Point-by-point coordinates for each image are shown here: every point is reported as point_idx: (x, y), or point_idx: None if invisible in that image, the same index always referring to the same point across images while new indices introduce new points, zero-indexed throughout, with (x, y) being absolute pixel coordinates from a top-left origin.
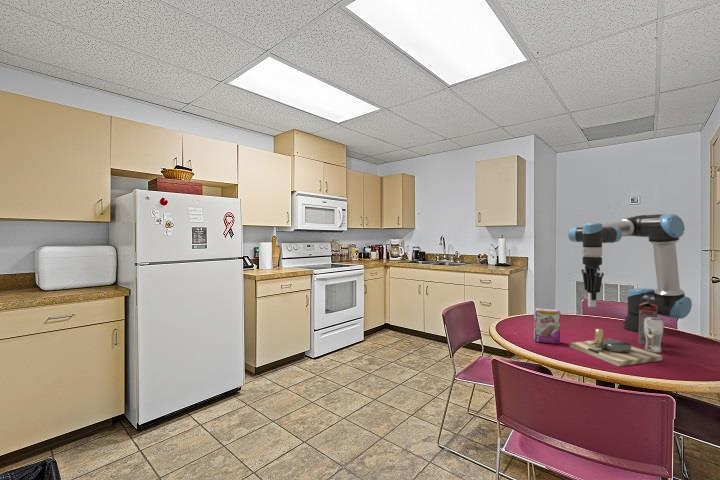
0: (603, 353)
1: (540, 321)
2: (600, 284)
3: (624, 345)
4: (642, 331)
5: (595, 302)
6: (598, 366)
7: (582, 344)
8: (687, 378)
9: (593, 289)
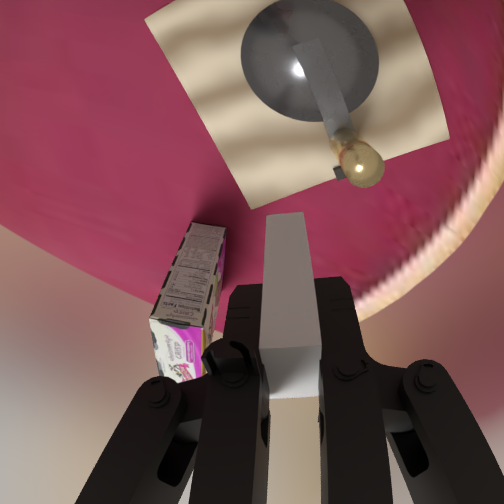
0: (376, 140)
1: (211, 341)
2: (501, 490)
3: (345, 33)
4: None
5: (308, 246)
6: (437, 198)
7: (265, 167)
8: (498, 11)
9: (401, 443)
